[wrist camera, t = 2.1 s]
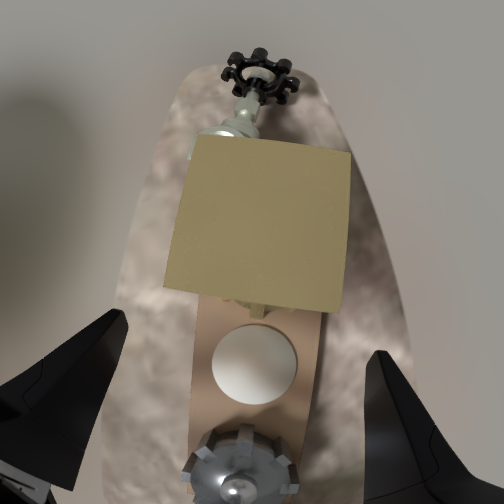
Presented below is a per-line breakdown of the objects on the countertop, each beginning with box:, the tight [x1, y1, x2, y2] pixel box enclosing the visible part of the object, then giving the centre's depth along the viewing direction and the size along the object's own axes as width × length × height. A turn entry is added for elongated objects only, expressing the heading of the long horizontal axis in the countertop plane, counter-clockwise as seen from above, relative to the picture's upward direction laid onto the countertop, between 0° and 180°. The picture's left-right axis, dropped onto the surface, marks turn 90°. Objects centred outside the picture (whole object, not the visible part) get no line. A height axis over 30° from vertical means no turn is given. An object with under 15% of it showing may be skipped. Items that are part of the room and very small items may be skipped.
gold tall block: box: [163, 134, 351, 320], centre depth 14 cm, size 7×7×12 cm
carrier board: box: [187, 294, 322, 504], centre depth 19 cm, size 24×9×1 cm, turn 174°
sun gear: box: [182, 423, 300, 504], centre depth 15 cm, size 8×8×4 cm
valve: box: [187, 48, 300, 163], centre depth 20 cm, size 7×7×12 cm
